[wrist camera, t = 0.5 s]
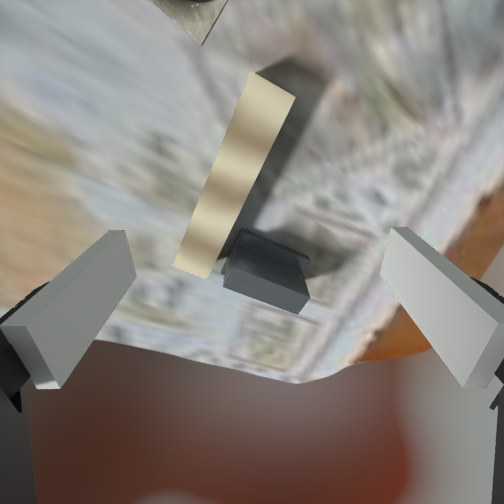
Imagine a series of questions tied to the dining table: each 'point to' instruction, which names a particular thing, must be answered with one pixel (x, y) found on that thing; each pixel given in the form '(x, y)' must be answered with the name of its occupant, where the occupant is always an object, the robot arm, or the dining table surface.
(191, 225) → the bar
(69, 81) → the dining table surface
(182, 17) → the condiment
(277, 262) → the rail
